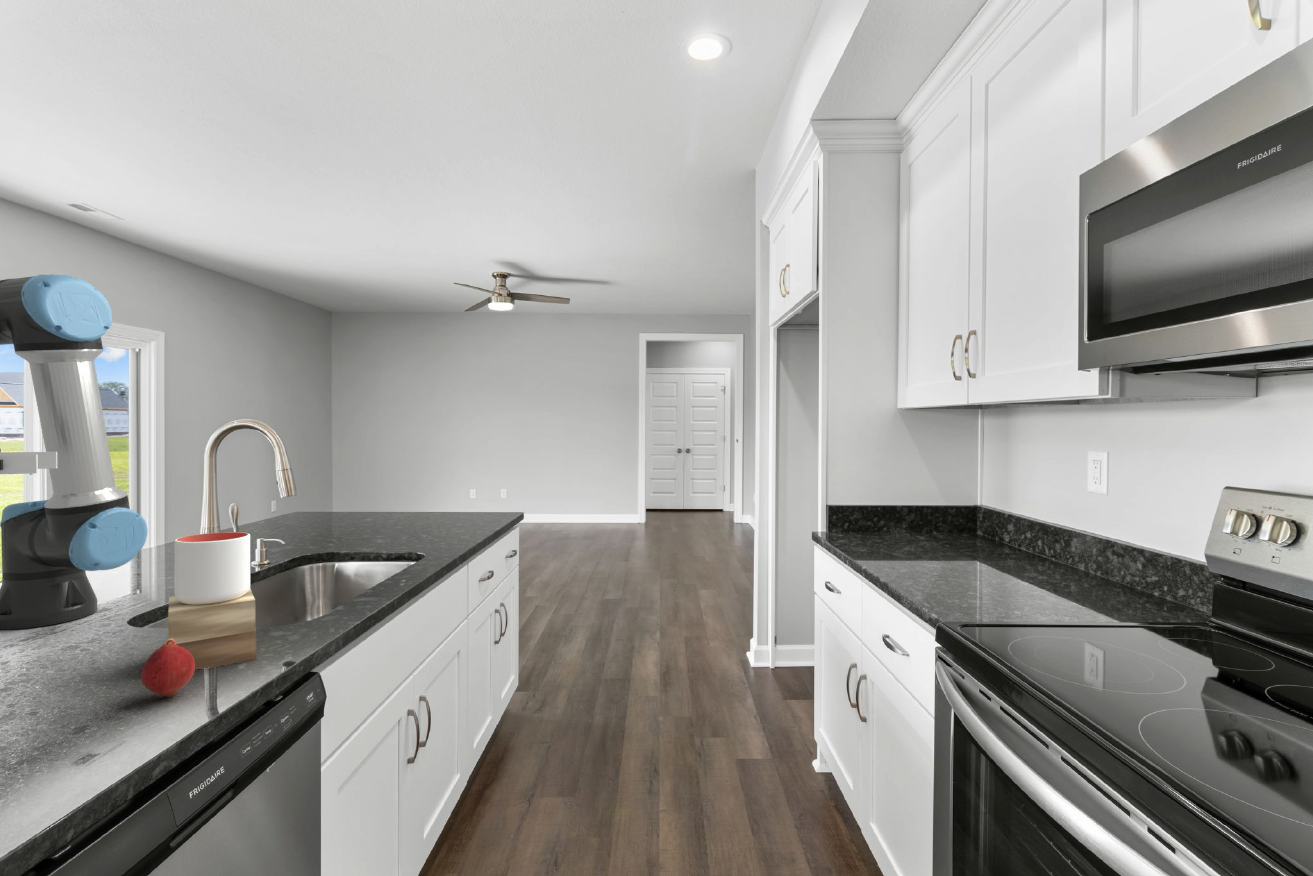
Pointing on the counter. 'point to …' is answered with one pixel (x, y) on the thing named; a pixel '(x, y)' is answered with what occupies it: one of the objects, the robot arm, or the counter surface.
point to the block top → (210, 619)
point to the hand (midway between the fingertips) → (47, 461)
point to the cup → (211, 567)
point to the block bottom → (222, 650)
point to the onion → (168, 669)
